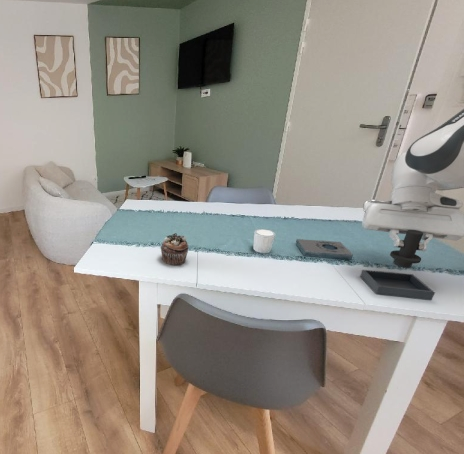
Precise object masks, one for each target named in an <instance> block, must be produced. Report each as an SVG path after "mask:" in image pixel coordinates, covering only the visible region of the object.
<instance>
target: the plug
mask: <svg viewBox="0 0 464 454" xmlns="http://www.w3.org/2000/svg"><path fill="white" fill-rule="evenodd" d="M422 236H423V232H421V231H417V230H408V231H407V233H406V234H405V236H404V238H403V240H404V246H403V247H402V248H399V250H397V249H396V250H392V251H390V253H389V256H390V258H392V259H393V262H392V264H394V265H395V266H397V267H399V268H404V269H405V268H406V269H410V268H412V266H413V264H420V263H421V262H422V257H421V256H419V255H417V254H416V253H417V251H418V250H417V248H418V245H419V243H420V242H421V241H422Z"/></svg>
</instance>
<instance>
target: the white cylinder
mask: <svg viewBox="0 0 464 454" xmlns="http://www.w3.org/2000/svg"><path fill="white" fill-rule="evenodd" d="M275 238H276V232H274V231H273V230H270V229H266V228H258V229H255V230H254V231H253V248H252V249H253V250H254V251H255V252H257V253H261V254H269V253H270V252H271V250H272V247H273V244H274V240H275Z"/></svg>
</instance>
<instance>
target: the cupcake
mask: <svg viewBox="0 0 464 454" xmlns="http://www.w3.org/2000/svg"><path fill="white" fill-rule="evenodd" d="M160 252H161V255H162V256H161V257H162V261H163V262H164V264H168V265H171V266H181V265H183V264H185V262H186V259H187V256H188V253H189V245H188V242H187V237H186V236H184V235H178V234H177V233H173V234H172V235H171V234H170V235H166V237H164V240H163V241H162V244H161V245H160Z"/></svg>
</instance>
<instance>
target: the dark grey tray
mask: <svg viewBox="0 0 464 454" xmlns="http://www.w3.org/2000/svg"><path fill="white" fill-rule="evenodd" d="M359 277H360V278H361V279H362V280H363V282H364V283H365V284H366V285H367V286H368V287H369V289H371V290H372V291H373V293H375V295H380V296H389V297H398V298H399V297H400V298H408V299H418V300H426V301H432V300H433V298H434V295H435V294H436V292H435V291H434V290H433V289H432V288H430V287H429V286H428V285H427V284H426V283H424V282H423V281H422V280H421V279H419V278H418V276H416V275H414V274H413V273H404V272H395V271H394V272H393V271H383V270H370V269H362V270H361V273H360V275H359Z"/></svg>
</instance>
